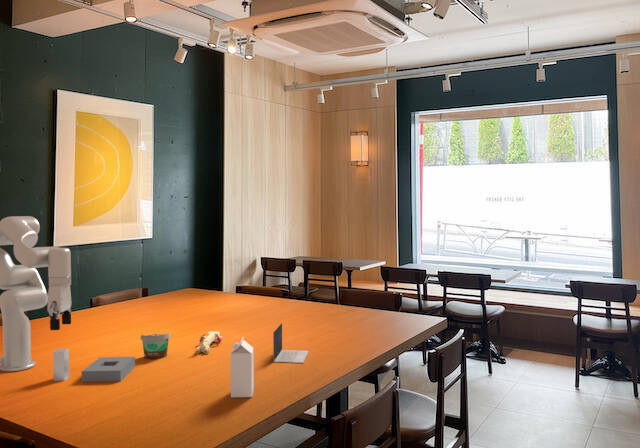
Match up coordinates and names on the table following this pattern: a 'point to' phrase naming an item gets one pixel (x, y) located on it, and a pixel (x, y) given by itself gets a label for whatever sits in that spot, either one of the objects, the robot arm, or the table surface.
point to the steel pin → (61, 364)
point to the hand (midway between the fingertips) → (60, 326)
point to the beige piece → (208, 341)
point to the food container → (155, 345)
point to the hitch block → (108, 369)
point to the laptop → (285, 355)
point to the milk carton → (242, 370)
